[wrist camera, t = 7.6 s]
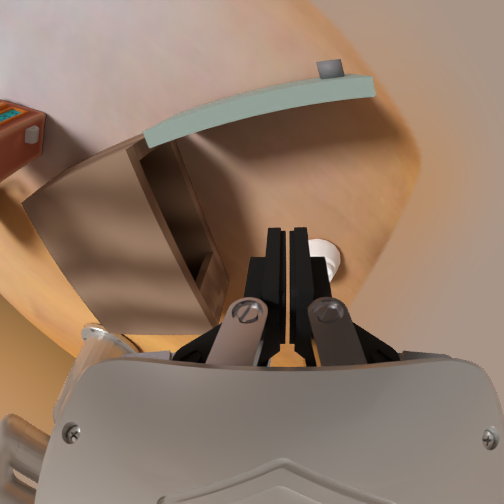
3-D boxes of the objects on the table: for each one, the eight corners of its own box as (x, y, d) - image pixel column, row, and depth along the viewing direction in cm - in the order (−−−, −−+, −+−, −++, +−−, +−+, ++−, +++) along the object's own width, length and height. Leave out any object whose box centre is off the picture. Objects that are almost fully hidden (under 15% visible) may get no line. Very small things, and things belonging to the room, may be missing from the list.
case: (229, 280, 32) (216, 334, 26) (132, 290, 35) (109, 333, 29) (168, 123, 22) (125, 149, 16) (65, 169, 25) (21, 202, 19)
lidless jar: (337, 233, 27) (287, 240, 28) (341, 251, 24) (286, 259, 25) (341, 271, 29) (295, 278, 31) (344, 291, 27) (295, 297, 28)
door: (345, 59, 16) (367, 56, 11) (352, 88, 18) (376, 96, 13) (172, 101, 20) (136, 115, 15) (181, 126, 21) (149, 148, 16)
